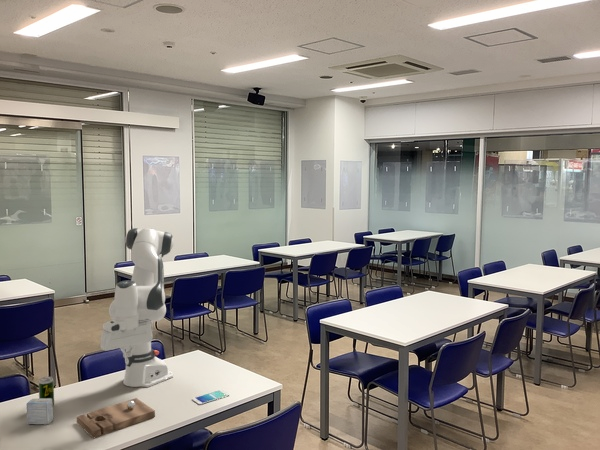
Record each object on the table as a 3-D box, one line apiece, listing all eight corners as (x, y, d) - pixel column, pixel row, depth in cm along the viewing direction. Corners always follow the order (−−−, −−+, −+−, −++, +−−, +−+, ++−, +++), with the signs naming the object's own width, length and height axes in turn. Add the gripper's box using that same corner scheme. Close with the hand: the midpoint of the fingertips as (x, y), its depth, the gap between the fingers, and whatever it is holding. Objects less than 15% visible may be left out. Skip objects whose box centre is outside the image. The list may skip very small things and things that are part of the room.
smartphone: (230, 394, 216) (199, 404, 206) (230, 396, 216) (199, 406, 206) (221, 389, 222) (190, 398, 212) (221, 391, 222) (191, 400, 212)
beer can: (36, 408, 203) (35, 379, 202) (49, 403, 208) (48, 375, 207) (45, 411, 201) (43, 382, 200) (57, 406, 205) (56, 378, 204)
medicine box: (53, 419, 194) (52, 397, 193) (48, 425, 189) (47, 402, 189) (32, 419, 194) (32, 398, 193) (27, 425, 189) (26, 403, 188)
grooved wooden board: (136, 403, 208) (136, 398, 207) (154, 416, 196) (154, 410, 196) (77, 422, 191) (76, 416, 191) (93, 438, 180) (93, 431, 179)
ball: (133, 406, 200) (132, 398, 200) (136, 408, 198) (136, 400, 197) (125, 408, 198) (125, 400, 197) (129, 411, 195) (128, 403, 195)
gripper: (148, 316, 207) (148, 349, 208) (98, 325, 193) (99, 360, 194) (155, 319, 202) (155, 352, 203) (104, 328, 188) (105, 364, 189)
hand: (127, 356), depth 198 cm, fingers closed
